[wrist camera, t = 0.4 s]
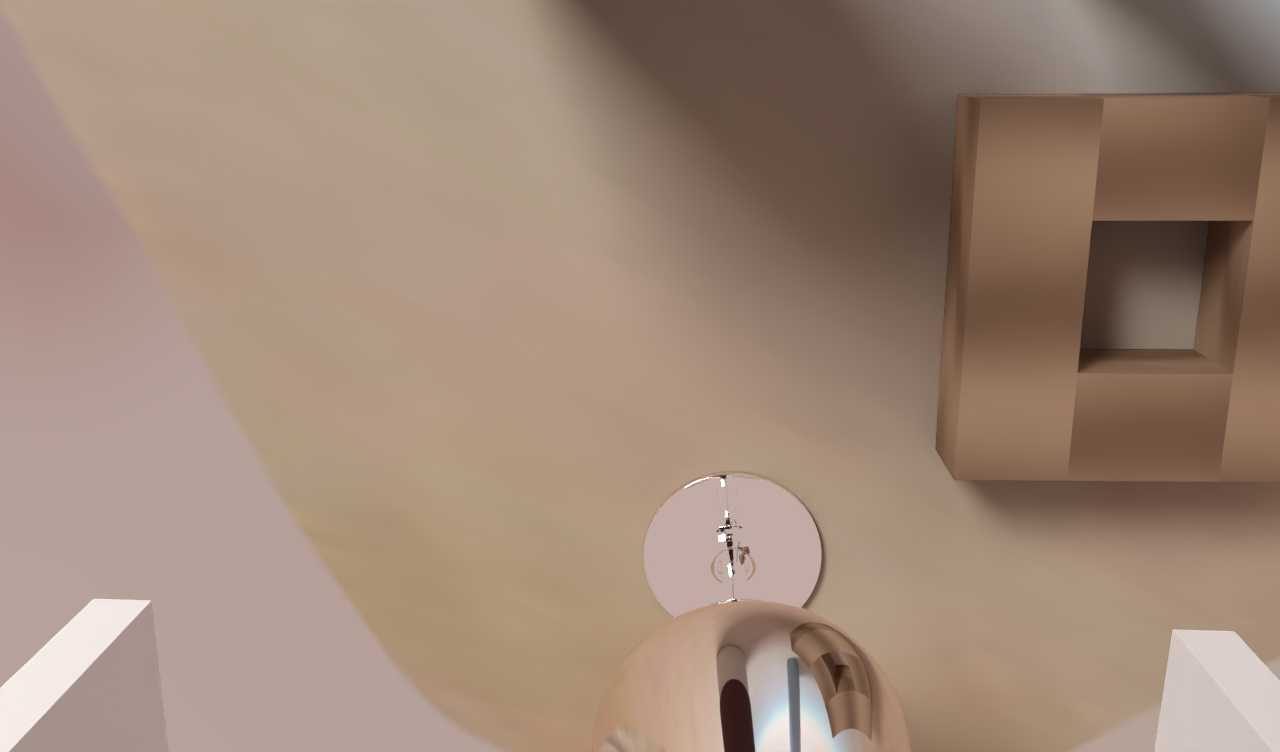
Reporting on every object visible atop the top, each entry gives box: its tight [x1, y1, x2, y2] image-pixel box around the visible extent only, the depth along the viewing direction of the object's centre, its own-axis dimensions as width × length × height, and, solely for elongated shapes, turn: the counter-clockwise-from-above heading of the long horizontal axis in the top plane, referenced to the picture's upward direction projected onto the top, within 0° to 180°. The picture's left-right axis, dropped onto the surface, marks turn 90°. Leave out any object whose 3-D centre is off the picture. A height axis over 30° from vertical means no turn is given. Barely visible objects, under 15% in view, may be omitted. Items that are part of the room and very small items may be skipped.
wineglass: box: [592, 472, 912, 752], centre depth 34 cm, size 8×8×18 cm
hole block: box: [936, 93, 1280, 482], centre depth 38 cm, size 12×12×3 cm
